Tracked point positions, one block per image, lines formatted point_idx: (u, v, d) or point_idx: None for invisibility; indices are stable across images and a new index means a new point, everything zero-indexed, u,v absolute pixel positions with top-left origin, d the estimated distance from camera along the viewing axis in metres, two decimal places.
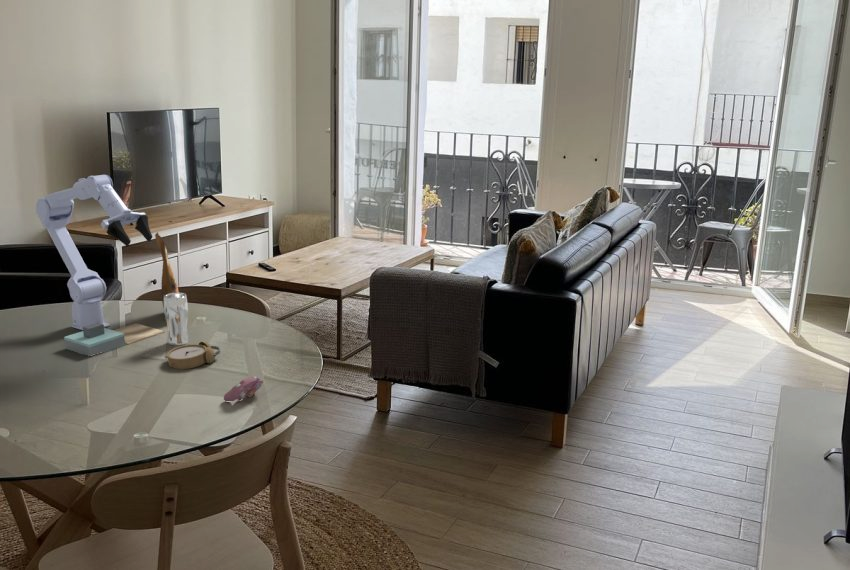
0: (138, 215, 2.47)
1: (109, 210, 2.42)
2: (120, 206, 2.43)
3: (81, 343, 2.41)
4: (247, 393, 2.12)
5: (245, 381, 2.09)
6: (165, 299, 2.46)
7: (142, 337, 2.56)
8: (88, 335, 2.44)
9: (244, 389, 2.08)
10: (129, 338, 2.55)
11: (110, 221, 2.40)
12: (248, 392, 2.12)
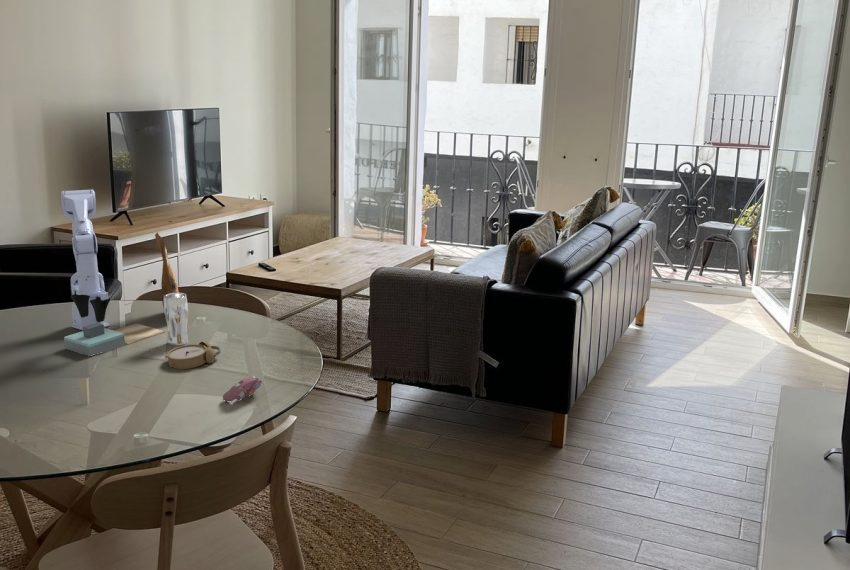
0: None
1: None
2: (79, 283, 2.40)
3: (81, 343, 2.41)
4: (246, 393, 2.13)
5: (244, 381, 2.09)
6: (165, 299, 2.46)
7: (142, 337, 2.56)
8: (88, 335, 2.44)
9: (243, 389, 2.09)
10: (129, 338, 2.55)
11: None
12: (247, 392, 2.12)
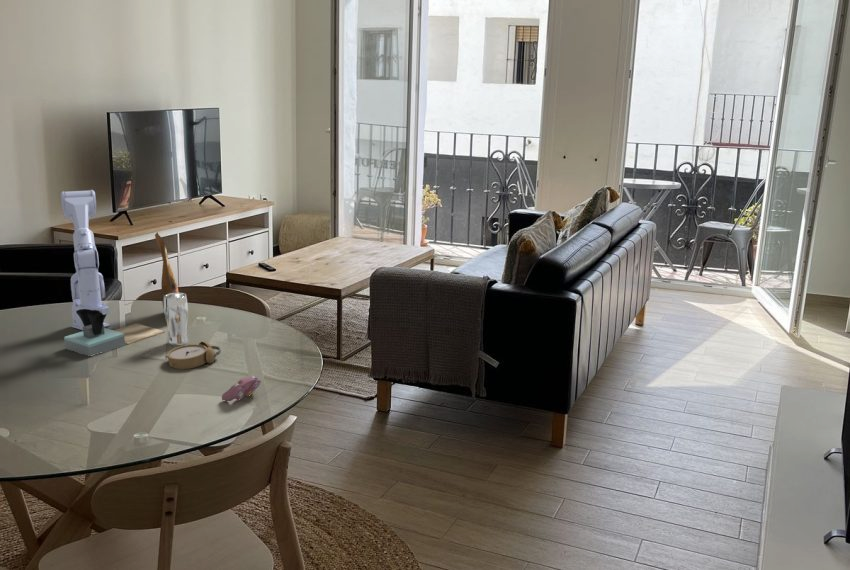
0: None
1: None
2: (80, 298, 2.41)
3: (81, 343, 2.41)
4: (245, 393, 2.13)
5: (243, 381, 2.10)
6: (165, 299, 2.46)
7: (142, 337, 2.56)
8: (88, 335, 2.44)
9: (242, 389, 2.09)
10: (129, 338, 2.55)
11: None
12: (246, 392, 2.13)
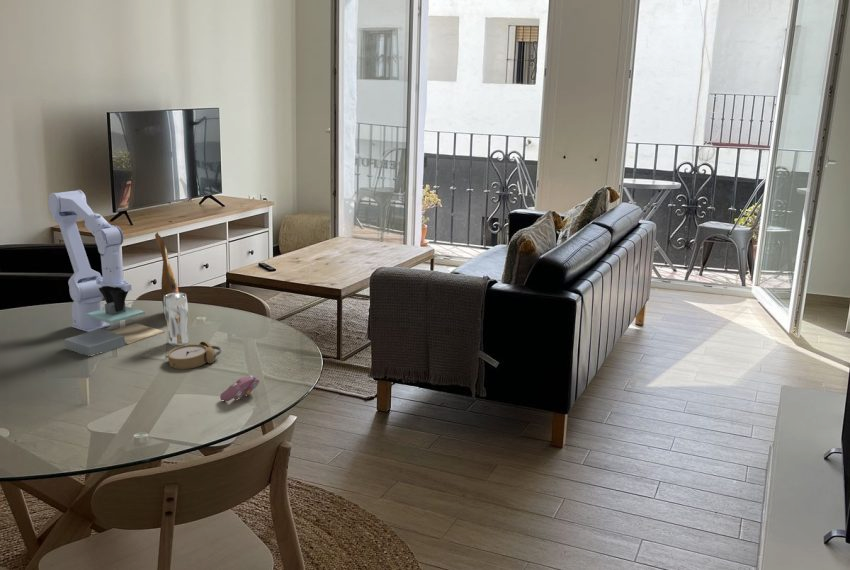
0: None
1: None
2: (103, 275, 2.48)
3: (103, 319, 2.47)
4: (243, 392, 2.13)
5: (241, 380, 2.10)
6: (165, 299, 2.46)
7: (142, 337, 2.56)
8: (110, 312, 2.50)
9: (241, 388, 2.09)
10: (129, 338, 2.55)
11: None
12: (244, 391, 2.13)
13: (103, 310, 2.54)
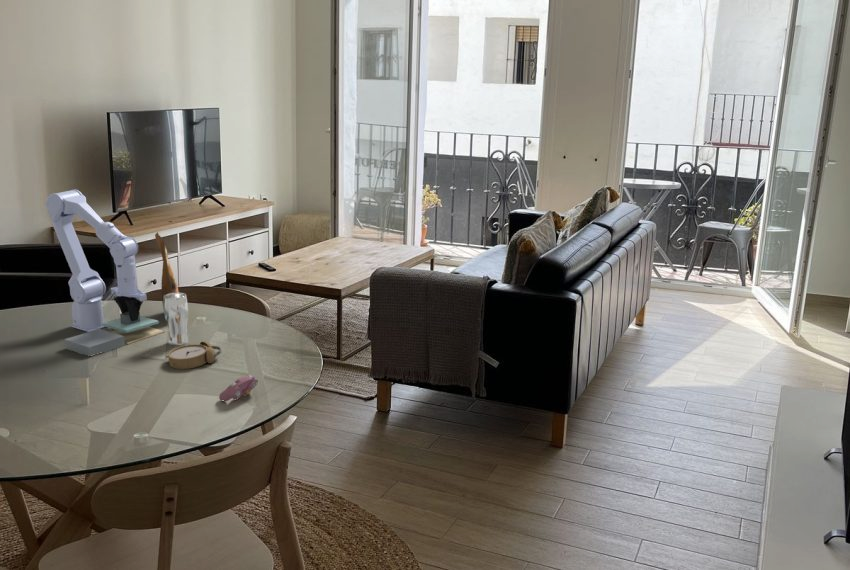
0: None
1: None
2: (118, 285, 2.53)
3: (119, 329, 2.52)
4: (242, 392, 2.13)
5: (240, 380, 2.10)
6: (165, 299, 2.46)
7: (142, 337, 2.56)
8: (125, 322, 2.56)
9: (239, 388, 2.09)
10: (129, 338, 2.55)
11: None
12: (243, 391, 2.13)
13: (118, 320, 2.60)
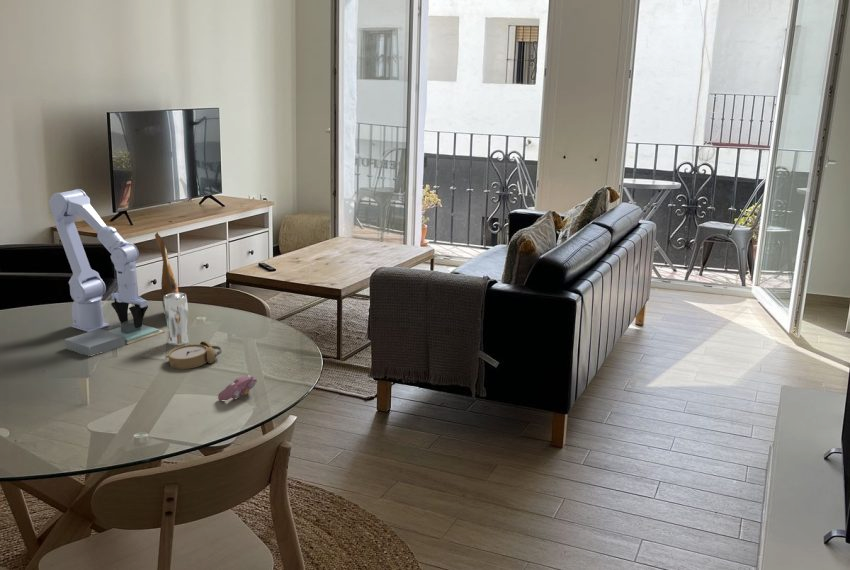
0: None
1: None
2: (119, 291, 2.54)
3: None
4: (241, 392, 2.13)
5: (239, 380, 2.10)
6: (165, 299, 2.46)
7: (142, 337, 2.56)
8: (125, 331, 2.56)
9: (238, 388, 2.09)
10: None
11: None
12: (242, 391, 2.13)
13: (118, 328, 2.61)
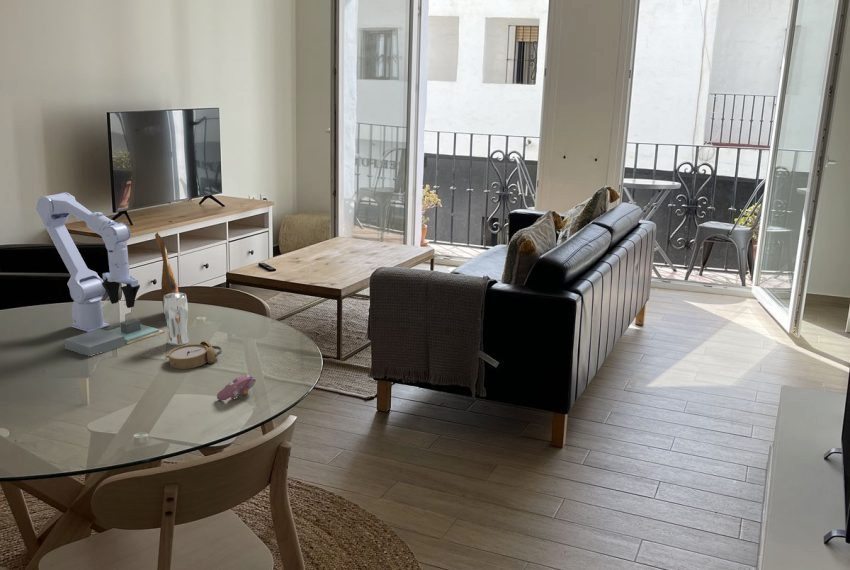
0: None
1: None
2: (110, 271, 2.52)
3: None
4: (240, 391, 2.13)
5: (238, 379, 2.10)
6: (165, 299, 2.46)
7: (142, 337, 2.56)
8: (125, 331, 2.56)
9: (237, 387, 2.09)
10: None
11: None
12: (241, 390, 2.13)
13: (118, 328, 2.61)
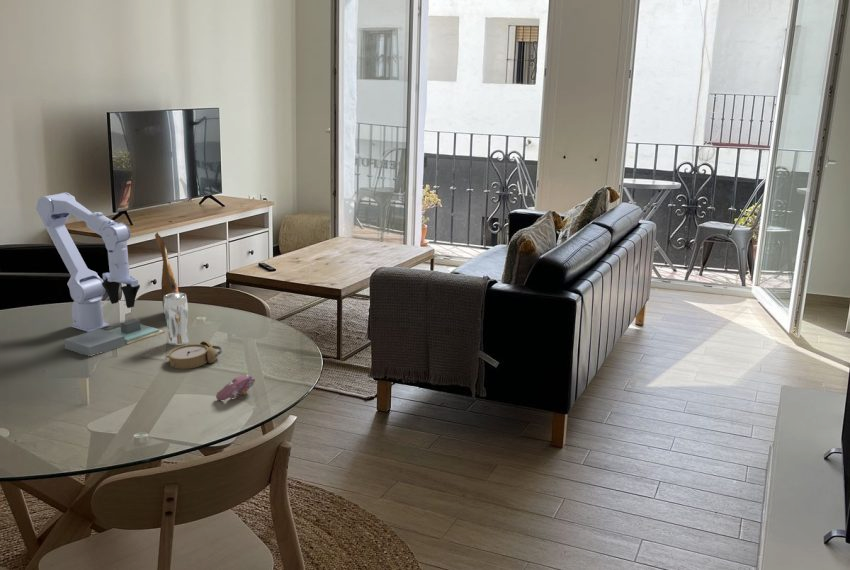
0: None
1: None
2: (110, 271, 2.52)
3: None
4: (239, 391, 2.13)
5: (237, 379, 2.10)
6: (165, 299, 2.46)
7: (142, 337, 2.56)
8: (125, 331, 2.56)
9: (236, 387, 2.09)
10: None
11: None
12: (240, 390, 2.13)
13: (118, 328, 2.61)
